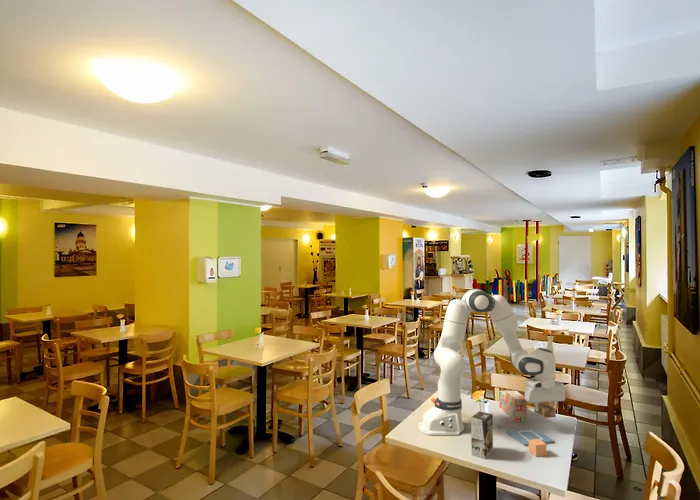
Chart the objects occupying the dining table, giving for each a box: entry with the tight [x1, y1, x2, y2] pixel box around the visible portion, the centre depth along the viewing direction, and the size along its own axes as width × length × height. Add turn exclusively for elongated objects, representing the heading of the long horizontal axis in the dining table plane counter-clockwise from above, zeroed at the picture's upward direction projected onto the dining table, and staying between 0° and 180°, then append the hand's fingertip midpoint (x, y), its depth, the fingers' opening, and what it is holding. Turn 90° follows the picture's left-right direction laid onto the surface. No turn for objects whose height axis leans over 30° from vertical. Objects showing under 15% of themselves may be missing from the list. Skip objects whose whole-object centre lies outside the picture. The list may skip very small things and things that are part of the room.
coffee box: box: [470, 411, 494, 460], centre depth 174 cm, size 9×6×16 cm
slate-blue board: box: [506, 427, 555, 447], centre depth 188 cm, size 15×14×1 cm
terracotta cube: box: [528, 439, 548, 458], centre depth 173 cm, size 5×5×5 cm
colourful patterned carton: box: [498, 390, 528, 423], centre depth 216 cm, size 21×6×12 cm, turn 0°
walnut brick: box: [533, 402, 557, 419], centre depth 196 cm, size 6×8×4 cm
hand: (544, 410), depth 196 cm, fingers closed on walnut brick, 6 cm apart
